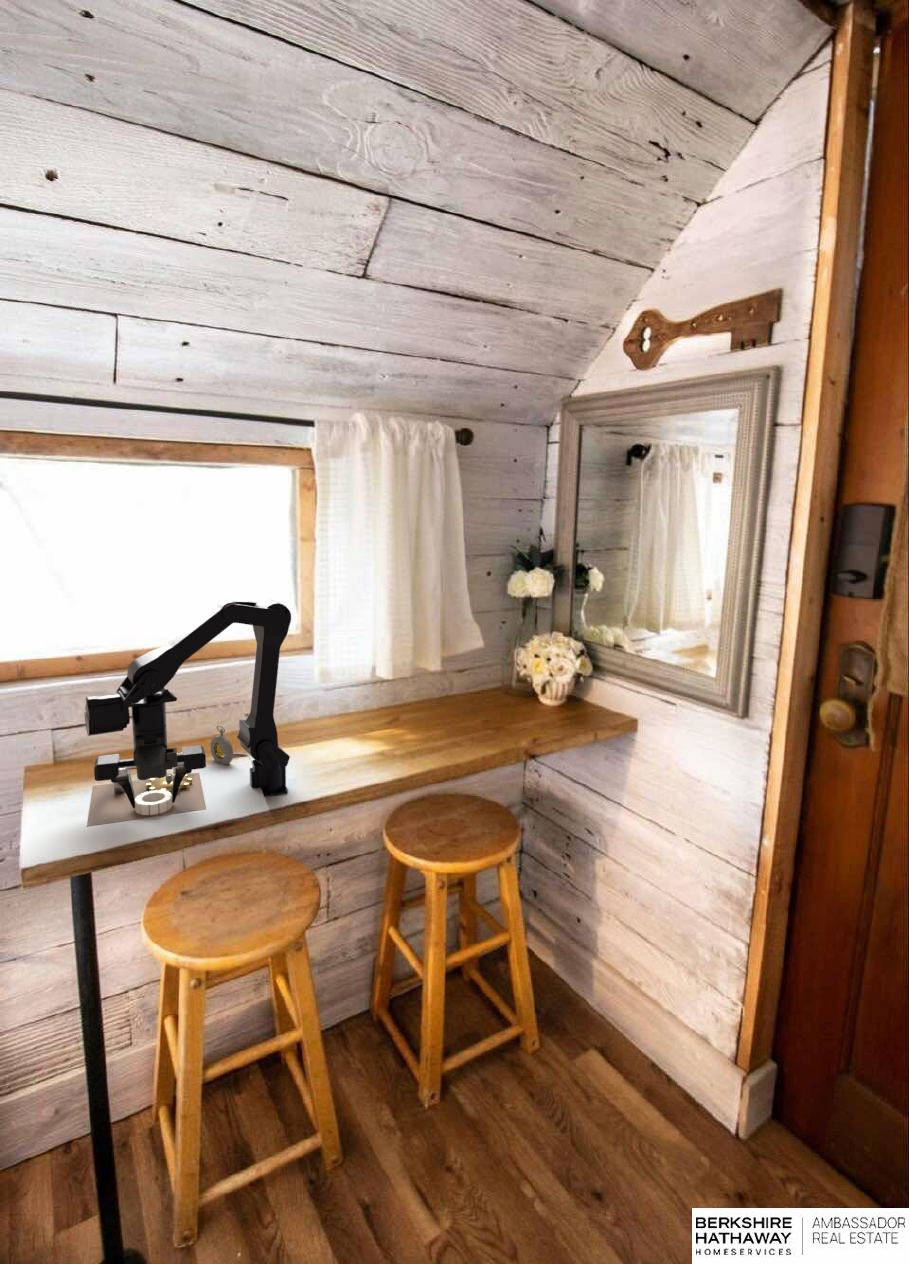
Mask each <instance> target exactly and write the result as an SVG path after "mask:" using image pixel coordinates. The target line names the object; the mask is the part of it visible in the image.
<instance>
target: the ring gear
mask: <svg viewBox="0 0 909 1264" xmlns="http://www.w3.org/2000/svg"><path fill="white" fill-rule="evenodd" d="M171 807H172V793H171V792H169V791H166V790H158V791H157V790H153V791H149V792H148V791H147V792H144V793H142V794H141V795H140V794H139V795H138V796H137V797H135V811H136V812H137V813H138V814H141V815H149V814H150V815H155V814H158V813H163V812H166V811H167V810H169V809H170V808H171Z"/></svg>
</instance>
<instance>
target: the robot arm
mask: <svg viewBox="0 0 909 1264" xmlns="http://www.w3.org/2000/svg"><path fill="white" fill-rule="evenodd" d="M291 622H292V613H291V610H289V608H288V607H287V606H286V605H284V604H282V603H281V602H278V601H275V600H273V599H271V598H264V599H261V600H259V601H258V602H257V601H256V602H254V601H242V600H241V601H234V600H231V599H230V600H229V599H223V600H220V601H219V602H218V603H217V604H216V606H214V607H213V608H212V609H210V610H209V611H208V612H207V613H205V614H204V615H203V616H201V617H200V618H199V619H197V620H196V621H195V622H193V623H192V624H191V625H190V626H188V627H187V628H186V629H185V630H184V631H181V633H180V634H179V635H177V636H176V637H174V638H173V639H172V640H171V641H169V642H168V643H166V644H164V645H163V646H161V647H158V648H155V649H153V650H150V651H148V652H146V653H145V654H143V655H140V656H139V657H137V658H134V659H133V660H132V661H131V662H130V664H129V665H128V666H127V673H126V674H127V675H126V677H125V678H124V680H123V681H122V682H121V684H120V685H119V686H118V688H117V689H116V690H115V692H116V694H108V695H100V696H97V695H96V696H95V695H92V696H86V698H85V707H84V708H85V711H84V712H83V713H84V714H83V715H84V723H85V724H84V725H85V729H86V731H85V732H86V734H87V737H91V736H98V735H104V734H109V733H117V732H123V731H124V730H125V729H128V725H130V722H131V723H132V740H133V754H132V755H133V758H126V759H125V758H124V759H123V758H122V759H120V758H121V757H120V754H119V753H114V754H106V755H105V754H103V755H98V756H97V758H95V762H94V765H93V766H94V767H93V768H94V769H93V771H94V772H93V774H94V781H97V782H103V781H110V782H111V784H112V783H118V784H120V785H121V787H122V788H123V789H124V791H125V793H126V795H127V797H128V799H129V801H130V803H131V805H132V807H133V808H135V795H134V789H133V784H132V781H133V779H132V775H131V770H136V777H137V780H146V779H151V778H163V777H165V776H166V775H167V774H168V772H167V770H173V771H172V774H173V781H172V803H174V802H175V799H176V796H177V793H178V790H179V787H180V784H181V782H182V780H183V778H184V776H185V775H186V774H192V772H193V770H200V769H204V768H206V767H207V760H206V759H207V758H206V752H205V748H204V747H203V745H201V744H196V745H189V746H188V745H187V746H181V752H179V753H178V748H177V747H168V746H169V745H168V731H167V730H168V728H167V712H166V708H167V707H166V703H172V702H173V703H175V702H176V701H178V697H176V695H175V694H174V693H173V692H171V691H170V690H169V688H168V687H166V686H167V685H168V684H169V683H170V681H171V680H172V679H173V678H174V677H175V675H176V674H177V673H178V670H179V669H180V668H181V666H182V665H183V664H184V663H185V662H186V661H187V660H189V659H190V658H191V657H192V656H193V655H195V654H196V653H198V651H200V650H201V649H202V648H203V647H205V646H206V645H207V644H209V643H210V642H211V641H213V640H214V639H215V638H216V637H217V636H219V635H220V634H221V633H222V632H223V631H225V630H226V629H227V628H229V627H230V626H231V625H233V624H242V625H250V626H252V630H253V632H254V638H255V642H256V651H255V662H254V672H253V673H254V674H253V681H252V683H253V684H252V692H251V704H250V705H251V706H250V712H249V714H248V716H247V718H246V719H239V722H238V725H239V730H238V735H236V738H237V740H238V741H239V742H240V746H241V747H242V749H244V750H245V752H247V754H248V755H249V756H250V757H251V758H252V759H253V760H252V761H251V762H252V763H251V764H252V767H250V768H249V784H250V787H251V789H260V790H261V791H262V794H263V796H264V797H267V796H274V795H275V796H276V795H280V794H281V795H282V794H287V793H289V790H288V787H287V781H286V780H287V777H286V775H287V771H286V770H287V769H286V768H287V766H288V764H289V761H290V758H291V756H290V755H289V754H288V753H287V752H286V751H285V750H284V749H282V748H281V747H280V746H279V738H278V729H277V726H276V721H275V717H274V713H275V712H274V711H275V702H276V693H277V683H278V673H279V672H278V671H279V662H280V652H281V647H282V645H283V643H284V641H285V639H286V638H287V636H288V632H289V630H290V627H291ZM130 708H131V716H130ZM130 717H131V720H132V721H130Z"/></svg>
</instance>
